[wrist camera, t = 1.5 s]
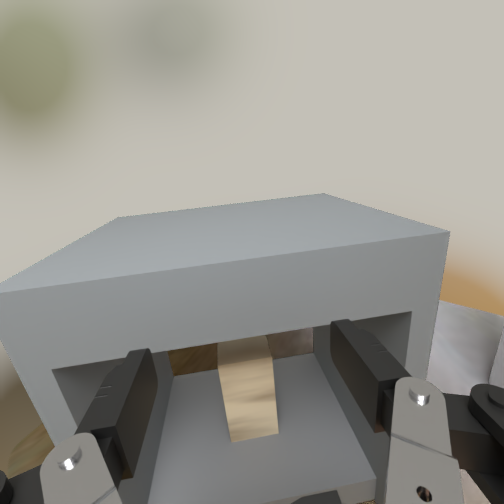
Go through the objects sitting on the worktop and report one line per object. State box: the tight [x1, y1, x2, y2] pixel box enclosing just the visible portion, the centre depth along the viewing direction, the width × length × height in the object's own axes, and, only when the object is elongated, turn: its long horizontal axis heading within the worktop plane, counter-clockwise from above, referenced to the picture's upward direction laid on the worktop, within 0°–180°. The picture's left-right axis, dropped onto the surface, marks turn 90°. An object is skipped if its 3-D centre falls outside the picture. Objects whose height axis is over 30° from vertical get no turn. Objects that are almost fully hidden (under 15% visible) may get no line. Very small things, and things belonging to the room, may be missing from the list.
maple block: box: [218, 335, 279, 443], centre depth 28 cm, size 5×5×10 cm
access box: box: [0, 193, 450, 504], centre depth 25 cm, size 18×23×26 cm
